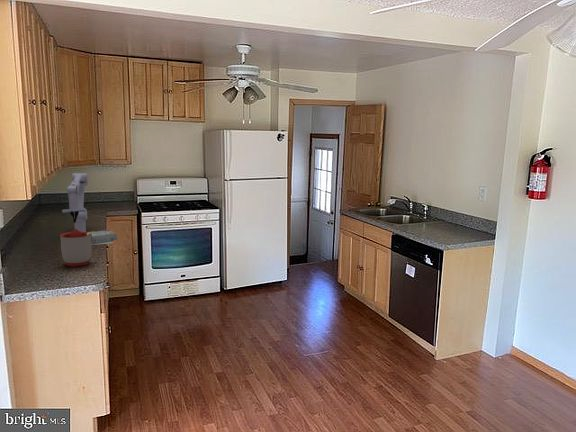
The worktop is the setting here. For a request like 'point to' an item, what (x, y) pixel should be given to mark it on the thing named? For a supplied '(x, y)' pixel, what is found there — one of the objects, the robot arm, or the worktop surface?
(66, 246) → the citrus juicer
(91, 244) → the mat
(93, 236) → the snack box
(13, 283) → the worktop surface
